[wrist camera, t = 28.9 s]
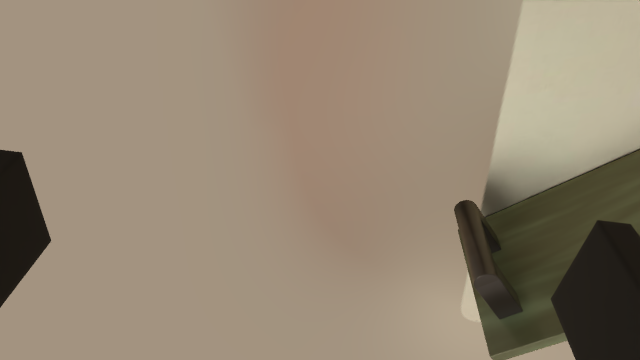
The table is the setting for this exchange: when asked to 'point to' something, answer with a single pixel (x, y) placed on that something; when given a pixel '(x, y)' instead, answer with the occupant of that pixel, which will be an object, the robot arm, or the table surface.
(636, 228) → the cupboard door
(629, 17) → the table surface
